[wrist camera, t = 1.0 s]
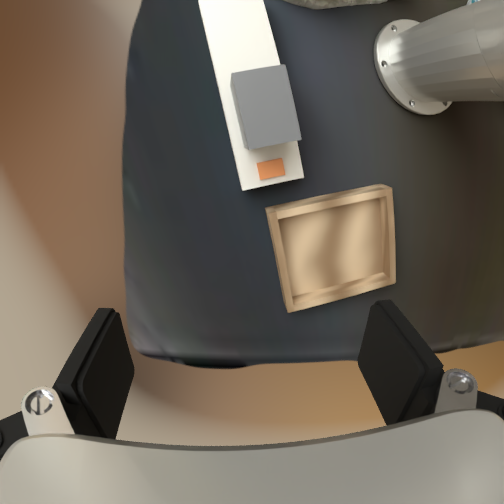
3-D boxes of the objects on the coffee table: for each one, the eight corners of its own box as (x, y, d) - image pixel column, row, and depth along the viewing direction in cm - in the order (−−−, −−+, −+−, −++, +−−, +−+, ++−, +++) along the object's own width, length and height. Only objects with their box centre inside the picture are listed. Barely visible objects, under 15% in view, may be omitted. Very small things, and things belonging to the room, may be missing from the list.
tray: (381, 183, 33) (391, 187, 31) (386, 274, 38) (395, 282, 35) (265, 207, 33) (268, 213, 31) (284, 301, 37) (288, 312, 35)
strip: (256, 3, 24) (260, -12, 21) (295, 173, 32) (305, 178, 28) (200, 13, 24) (198, -2, 21) (240, 185, 32) (242, 191, 28)
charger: (268, 82, 27) (285, 64, 19) (281, 138, 29) (301, 139, 22) (229, 90, 27) (231, 73, 19) (242, 146, 29) (249, 149, 22)
